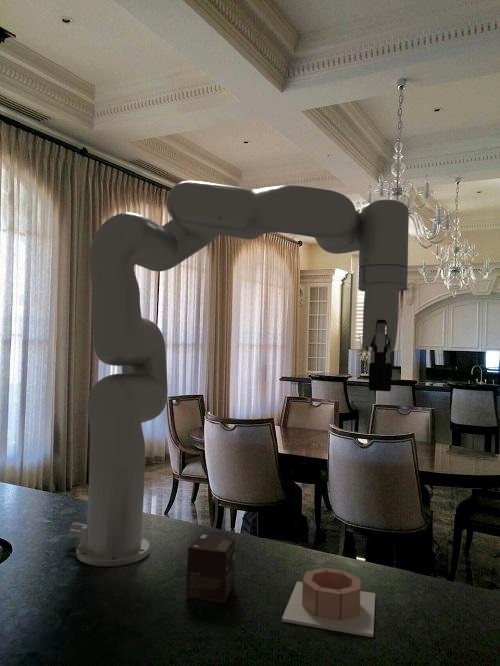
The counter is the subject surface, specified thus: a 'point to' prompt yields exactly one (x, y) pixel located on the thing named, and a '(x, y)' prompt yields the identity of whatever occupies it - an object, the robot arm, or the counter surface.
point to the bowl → (331, 593)
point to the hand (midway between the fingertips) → (380, 389)
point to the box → (210, 568)
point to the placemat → (353, 625)
